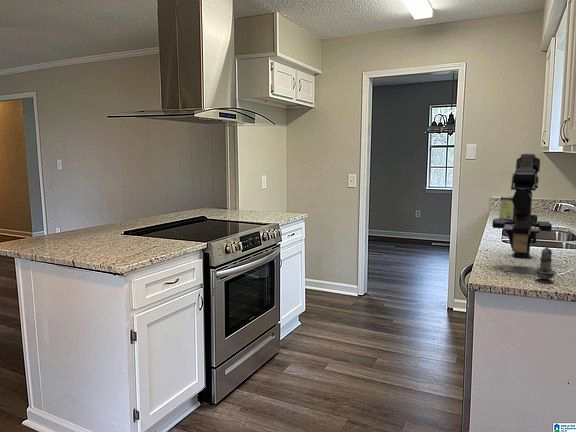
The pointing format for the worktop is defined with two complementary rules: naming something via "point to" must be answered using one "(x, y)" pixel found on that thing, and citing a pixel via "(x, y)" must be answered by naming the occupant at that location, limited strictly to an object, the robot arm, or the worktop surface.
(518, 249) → the walnut block
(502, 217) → the protein box
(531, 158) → the robot arm
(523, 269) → the slate coaster
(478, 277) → the worktop surface
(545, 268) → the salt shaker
